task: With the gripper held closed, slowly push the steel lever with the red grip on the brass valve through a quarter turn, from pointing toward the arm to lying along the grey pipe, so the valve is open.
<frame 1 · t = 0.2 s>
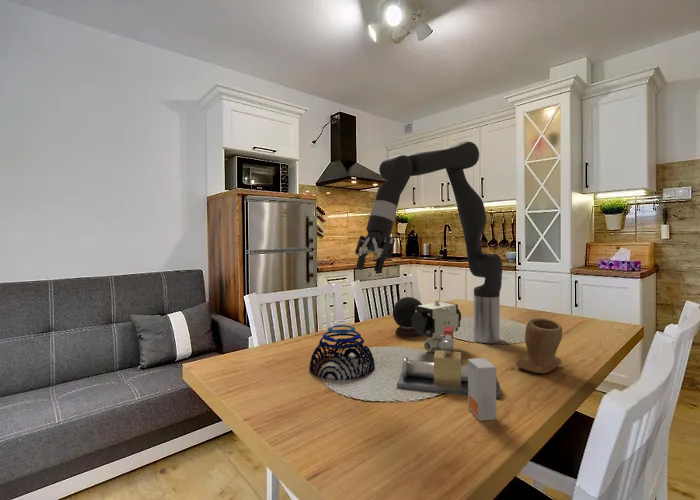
hand: (367, 270, 107), 31 cm above the table, tool tilted 20°, fingers open, 8 cm apart
skincare box: (481, 414, 84), on the table
decorative bowl: (342, 368, 114), on the table
black ball on base: (408, 333, 151), on the table
ball valve: (438, 351, 128), on the table
stone cup: (541, 368, 111), on the table
valve lever: (448, 337, 106), point 11 cm above the table, hinge at 0.0°
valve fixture: (447, 383, 100), on the table
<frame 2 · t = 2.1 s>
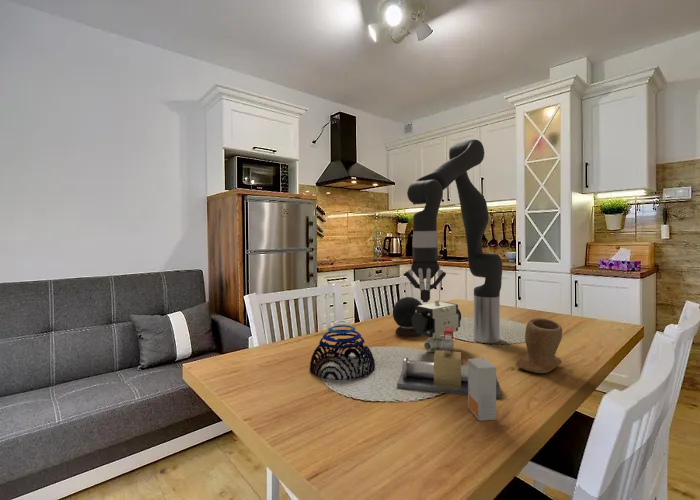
hand: (425, 301, 113), 20 cm above the table, tool pointing down, fingers closed
nothing on the table moved.
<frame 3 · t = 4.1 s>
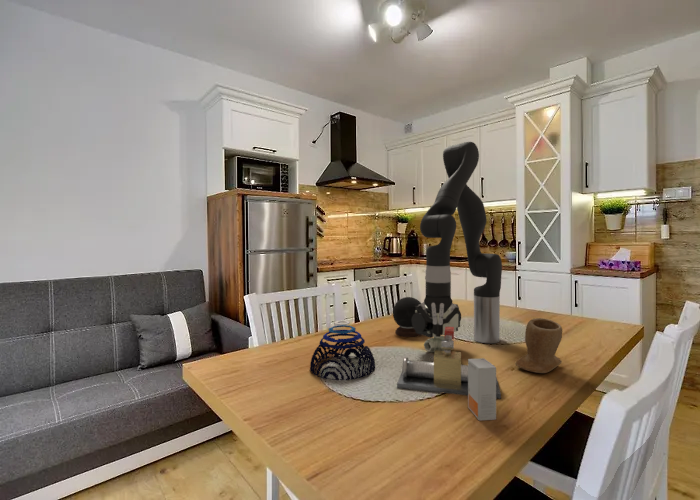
hand: (438, 335, 112), 10 cm above the table, tool pointing down, fingers closed
valve lever: (448, 337, 106), point 11 cm above the table, hinge at 0.9°, touching gripper
everything else where it was.
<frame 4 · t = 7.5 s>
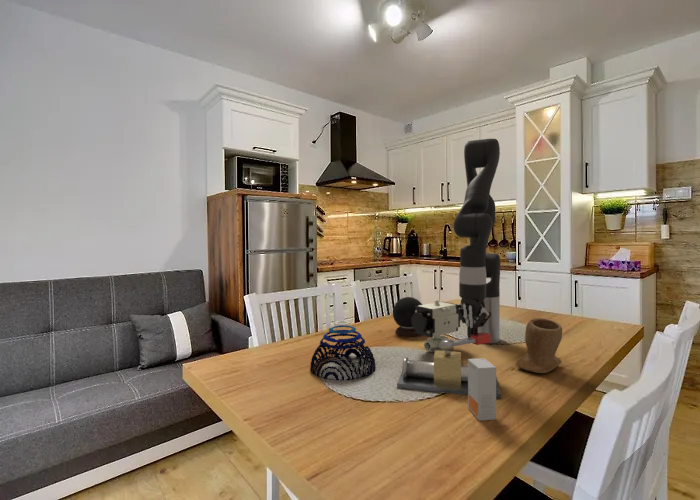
hand: (472, 339, 108), 10 cm above the table, tool pointing down, fingers closed
valve lever: (465, 341, 102), point 11 cm above the table, hinge at 48.1°, touching gripper
everything else where it was.
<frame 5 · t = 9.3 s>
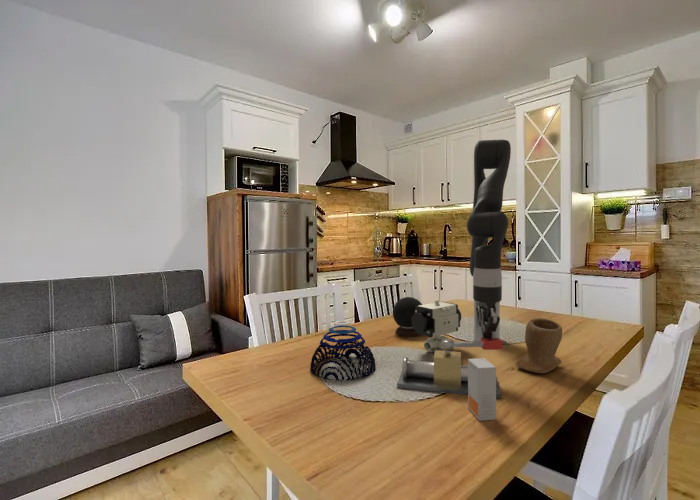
hand: (487, 344, 103), 10 cm above the table, tool pointing down, fingers closed
valve lever: (471, 344, 100), point 11 cm above the table, hinge at 73.3°, touching gripper
everything else where it was.
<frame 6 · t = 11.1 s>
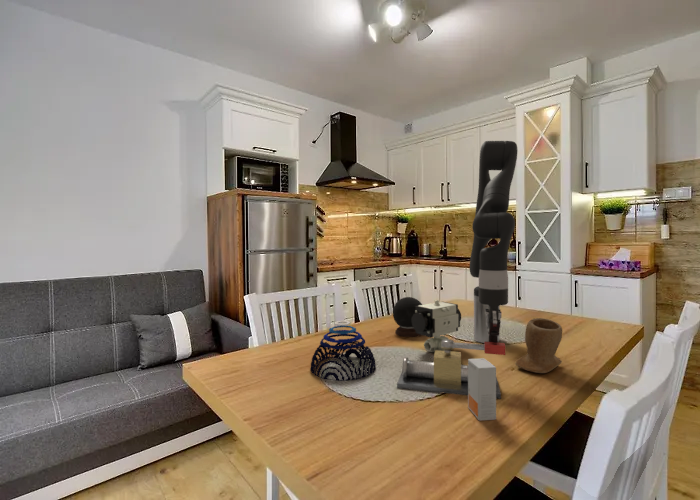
hand: (492, 348, 100), 10 cm above the table, tool pointing down, fingers closed
valve lever: (472, 346, 98), point 11 cm above the table, hinge at 91.4°
everything else where it was.
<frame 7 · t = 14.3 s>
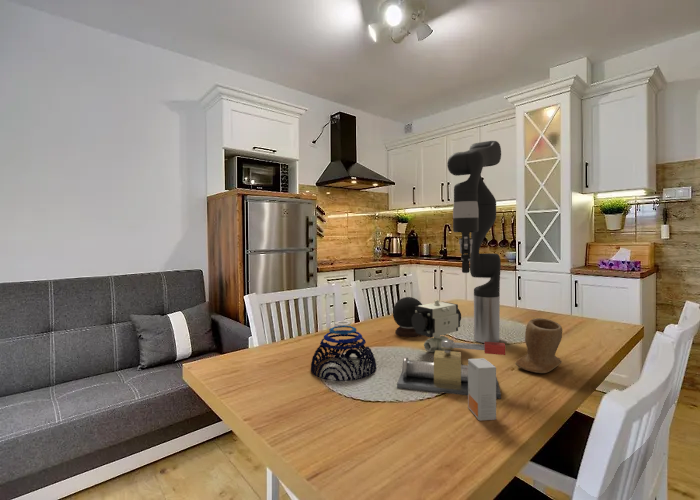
hand: (465, 272, 114), 29 cm above the table, tool pointing down, fingers closed
nothing on the table moved.
at the end: valve lever at +91° (first picture: +0°); the gripper is holding nothing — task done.
